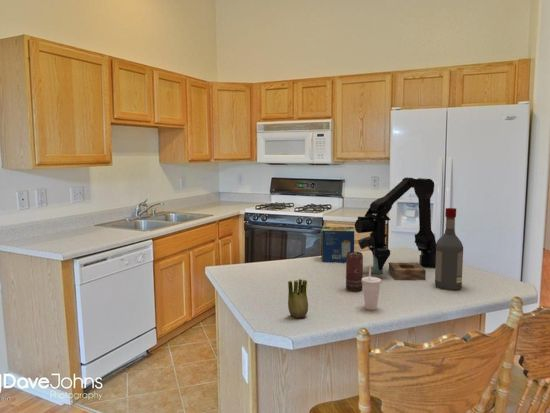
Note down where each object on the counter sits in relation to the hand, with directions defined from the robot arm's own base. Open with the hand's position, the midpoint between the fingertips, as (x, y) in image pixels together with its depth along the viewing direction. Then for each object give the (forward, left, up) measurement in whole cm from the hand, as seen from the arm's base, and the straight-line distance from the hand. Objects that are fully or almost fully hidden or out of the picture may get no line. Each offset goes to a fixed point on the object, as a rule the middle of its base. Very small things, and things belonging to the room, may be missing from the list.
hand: (377, 267), depth 175 cm
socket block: (-11, +4, -2) cm, 12 cm away
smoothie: (+10, +41, -3) cm, 42 cm away
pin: (0, 0, -2) cm, 2 cm away
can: (+13, +22, -3) cm, 26 cm away
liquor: (-23, +18, -3) cm, 29 cm away
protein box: (+15, -22, -3) cm, 27 cm away
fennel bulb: (+34, +49, -3) cm, 60 cm away
